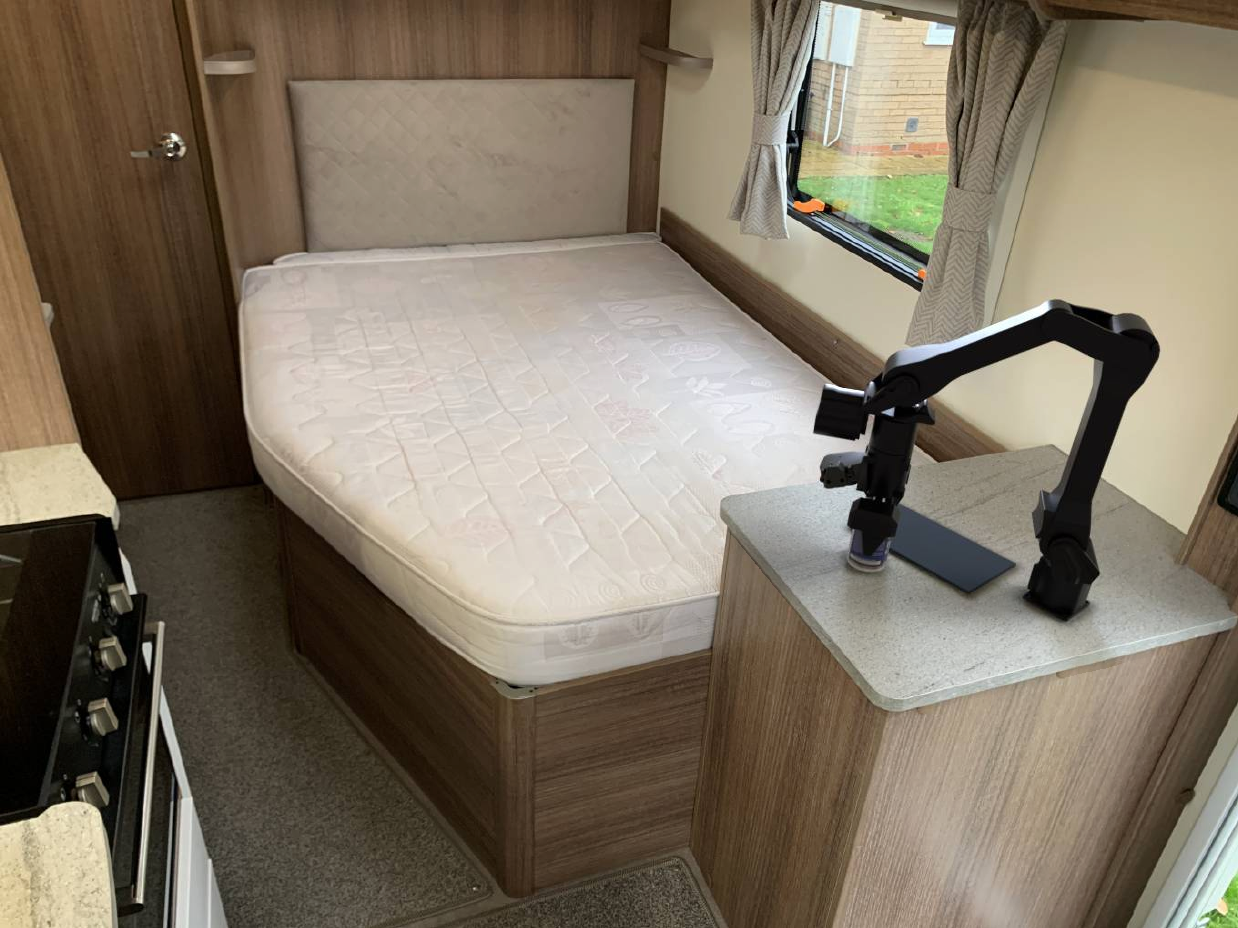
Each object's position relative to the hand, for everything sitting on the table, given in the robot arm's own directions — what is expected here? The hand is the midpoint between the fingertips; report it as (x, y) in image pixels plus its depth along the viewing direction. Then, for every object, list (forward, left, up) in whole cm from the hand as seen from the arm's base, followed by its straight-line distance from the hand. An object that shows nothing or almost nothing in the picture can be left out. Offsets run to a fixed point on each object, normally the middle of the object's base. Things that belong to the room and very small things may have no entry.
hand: (869, 544), depth 133 cm
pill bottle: (0, 0, -3) cm, 3 cm away
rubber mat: (-3, -11, -3) cm, 12 cm away
